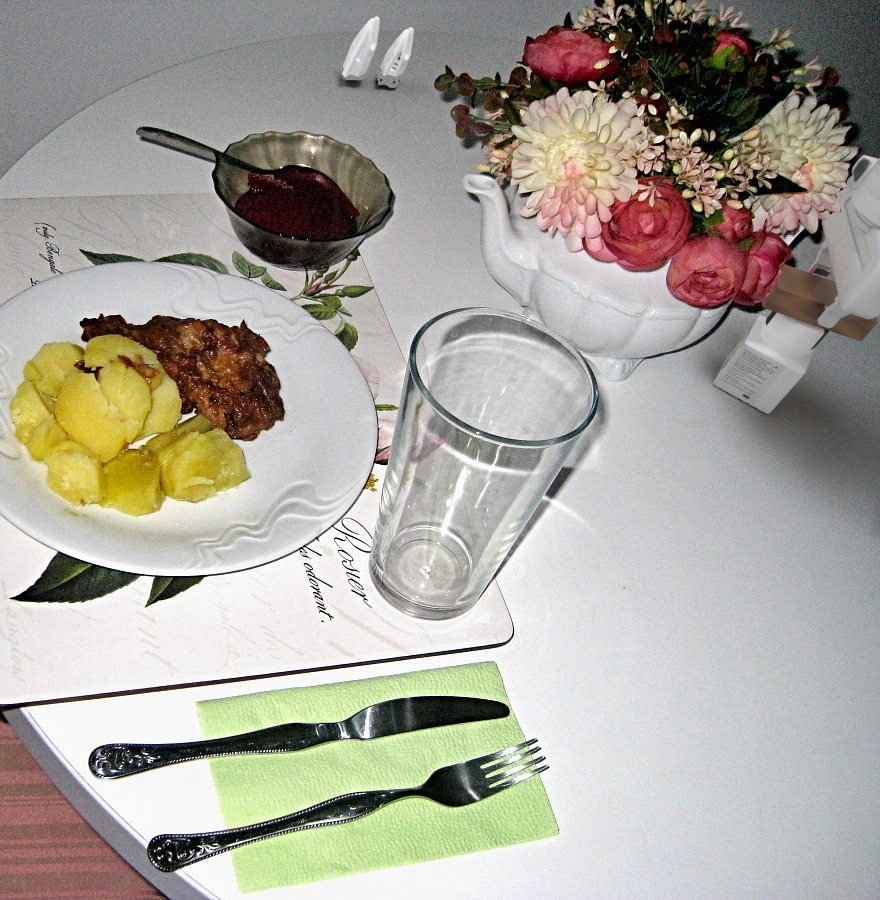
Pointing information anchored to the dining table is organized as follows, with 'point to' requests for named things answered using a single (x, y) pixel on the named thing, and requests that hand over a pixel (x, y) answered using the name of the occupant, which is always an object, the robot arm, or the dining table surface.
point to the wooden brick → (812, 302)
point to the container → (769, 360)
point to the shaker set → (366, 47)
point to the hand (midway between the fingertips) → (818, 299)
